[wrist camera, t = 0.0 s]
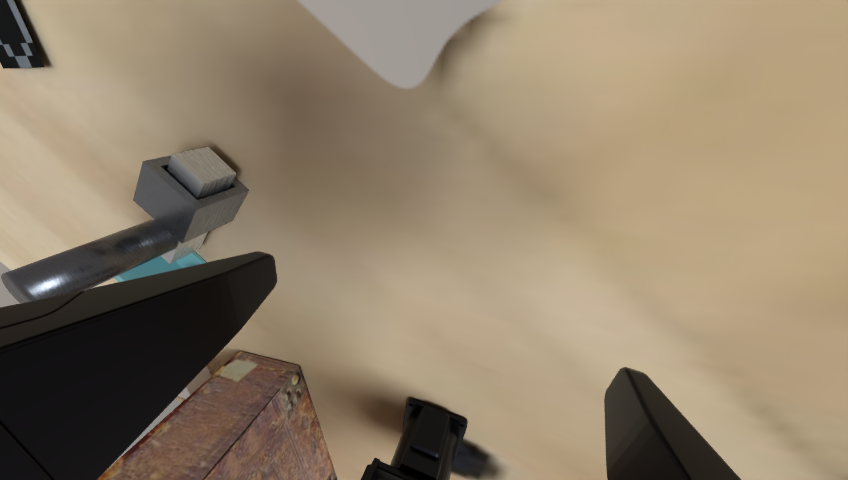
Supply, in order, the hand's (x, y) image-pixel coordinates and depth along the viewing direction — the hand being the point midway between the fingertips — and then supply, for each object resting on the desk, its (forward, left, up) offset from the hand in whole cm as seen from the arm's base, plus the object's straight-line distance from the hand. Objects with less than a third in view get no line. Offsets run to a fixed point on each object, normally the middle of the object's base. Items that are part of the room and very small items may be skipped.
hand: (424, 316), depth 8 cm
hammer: (-8, +25, -14) cm, 30 cm away
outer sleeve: (-6, +24, -15) cm, 29 cm away
